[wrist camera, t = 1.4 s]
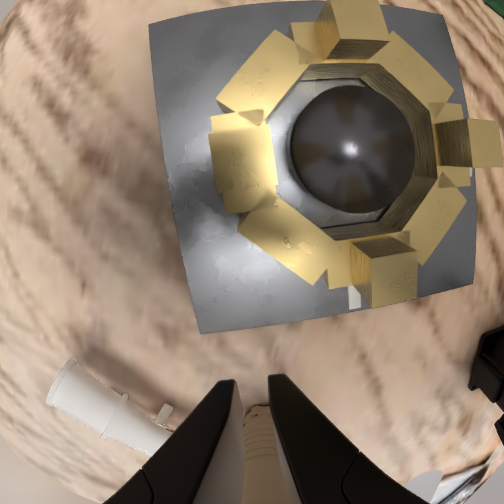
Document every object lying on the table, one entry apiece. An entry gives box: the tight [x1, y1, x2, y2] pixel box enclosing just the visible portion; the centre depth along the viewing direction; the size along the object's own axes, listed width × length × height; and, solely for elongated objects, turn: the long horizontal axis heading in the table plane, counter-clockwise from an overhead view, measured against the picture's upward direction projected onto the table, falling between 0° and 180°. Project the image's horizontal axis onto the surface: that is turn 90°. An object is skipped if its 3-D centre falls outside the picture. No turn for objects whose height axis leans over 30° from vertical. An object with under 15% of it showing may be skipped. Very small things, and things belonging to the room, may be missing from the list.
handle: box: [241, 405, 290, 504], centre depth 16 cm, size 5×6×15 cm
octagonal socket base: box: [208, 0, 503, 309], centre depth 14 cm, size 13×13×6 cm
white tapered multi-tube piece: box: [46, 358, 173, 457], centre depth 20 cm, size 8×14×5 cm
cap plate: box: [148, 1, 477, 334], centre depth 16 cm, size 20×20×4 cm
